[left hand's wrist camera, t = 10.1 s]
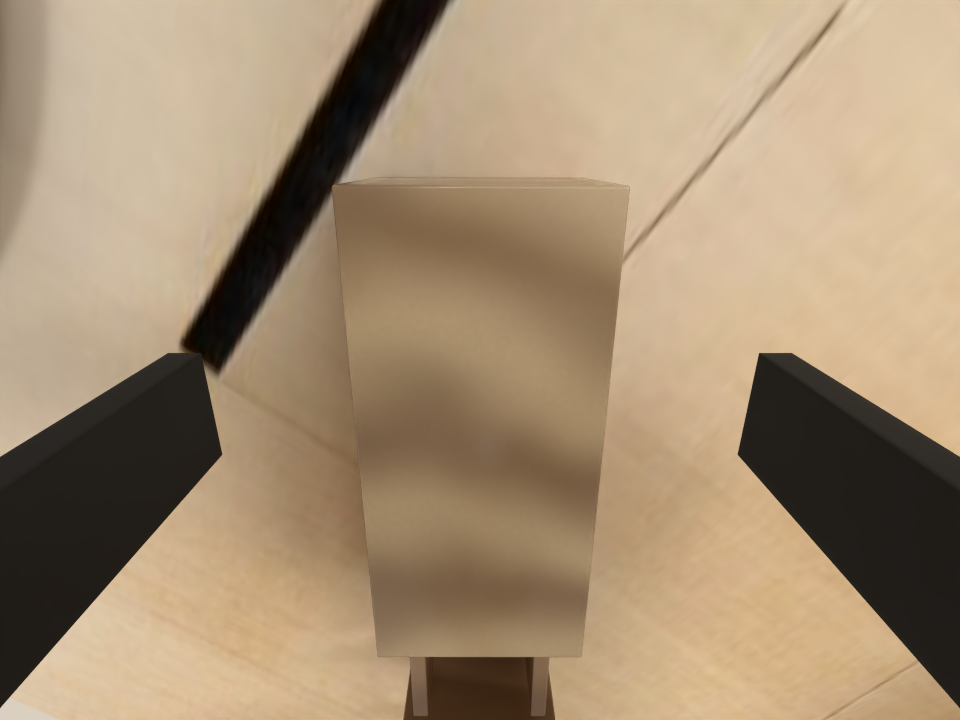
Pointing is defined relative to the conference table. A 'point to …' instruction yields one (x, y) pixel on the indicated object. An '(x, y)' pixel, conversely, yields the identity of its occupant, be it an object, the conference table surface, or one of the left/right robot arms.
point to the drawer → (479, 689)
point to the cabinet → (480, 402)
